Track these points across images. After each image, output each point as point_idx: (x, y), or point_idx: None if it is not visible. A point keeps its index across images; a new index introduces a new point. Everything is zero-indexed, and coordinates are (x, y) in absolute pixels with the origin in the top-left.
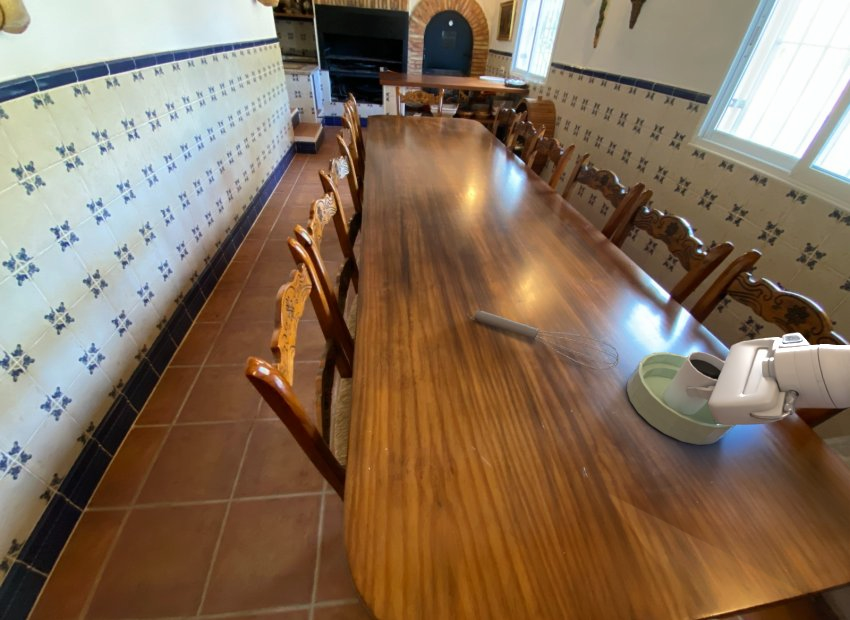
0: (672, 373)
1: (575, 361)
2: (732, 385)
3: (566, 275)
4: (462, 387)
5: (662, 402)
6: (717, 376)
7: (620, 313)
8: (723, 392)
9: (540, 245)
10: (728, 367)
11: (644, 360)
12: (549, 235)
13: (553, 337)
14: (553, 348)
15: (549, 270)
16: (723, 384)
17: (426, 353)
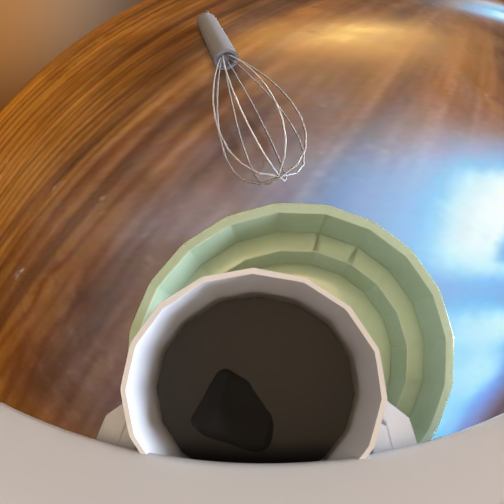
0: (390, 315)
1: (239, 135)
2: (55, 498)
3: (452, 63)
4: (71, 95)
5: (142, 321)
6: (264, 451)
7: (477, 153)
8: (20, 453)
9: (459, 33)
10: (289, 494)
11: (301, 210)
12: (486, 41)
13: (250, 76)
14: (217, 89)
15: (432, 44)
16: (80, 469)
17: (104, 49)
